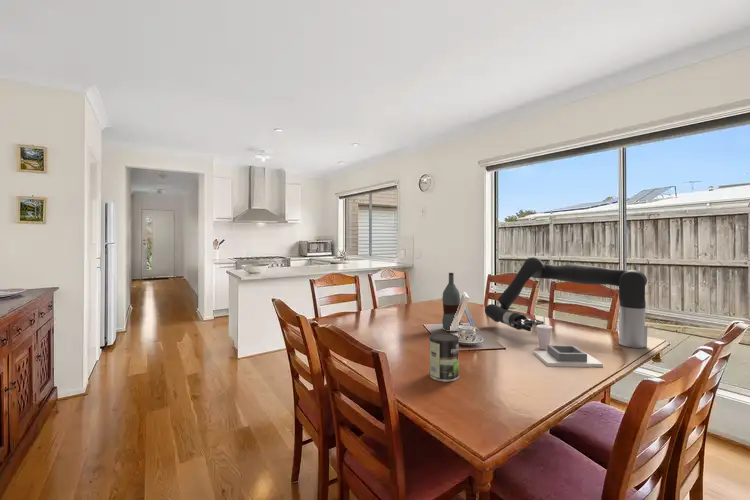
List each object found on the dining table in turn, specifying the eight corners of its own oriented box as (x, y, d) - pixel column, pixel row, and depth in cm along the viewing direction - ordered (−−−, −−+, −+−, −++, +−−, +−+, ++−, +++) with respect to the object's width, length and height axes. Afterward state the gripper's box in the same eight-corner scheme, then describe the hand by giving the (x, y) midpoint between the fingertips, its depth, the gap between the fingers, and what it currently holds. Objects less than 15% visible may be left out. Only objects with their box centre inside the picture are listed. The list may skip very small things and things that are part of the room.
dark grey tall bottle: (459, 333, 177) (459, 274, 176) (441, 331, 180) (440, 273, 179) (461, 328, 186) (461, 272, 185) (443, 327, 189) (443, 271, 188)
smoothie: (551, 346, 155) (551, 315, 154) (553, 351, 149) (553, 318, 148) (535, 345, 157) (535, 314, 156) (536, 349, 151) (537, 317, 150)
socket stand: (583, 354, 145) (583, 344, 145) (602, 367, 131) (603, 355, 131) (533, 353, 146) (533, 343, 146) (547, 366, 132) (547, 355, 132)
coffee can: (462, 373, 126) (462, 335, 125) (453, 384, 117) (453, 342, 117) (435, 368, 131) (435, 331, 131) (424, 378, 123) (424, 338, 122)
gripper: (502, 313, 169) (525, 321, 154) (527, 311, 173) (551, 318, 158) (502, 328, 170) (525, 338, 154) (526, 326, 174) (551, 335, 158)
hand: (538, 328), depth 156 cm, fingers open, 8 cm apart
